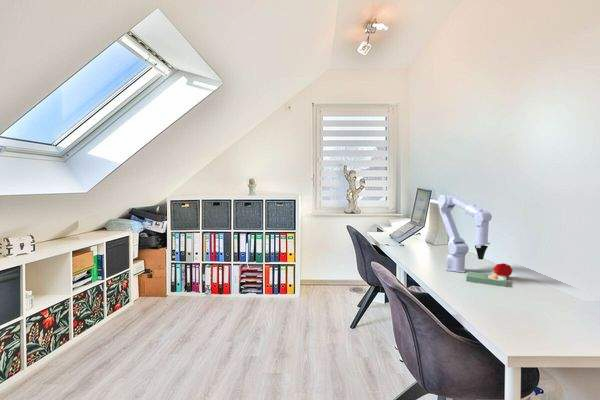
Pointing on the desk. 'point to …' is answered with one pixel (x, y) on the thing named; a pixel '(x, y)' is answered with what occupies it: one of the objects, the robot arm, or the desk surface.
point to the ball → (494, 276)
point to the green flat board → (486, 279)
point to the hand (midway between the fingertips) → (480, 259)
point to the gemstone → (503, 270)
